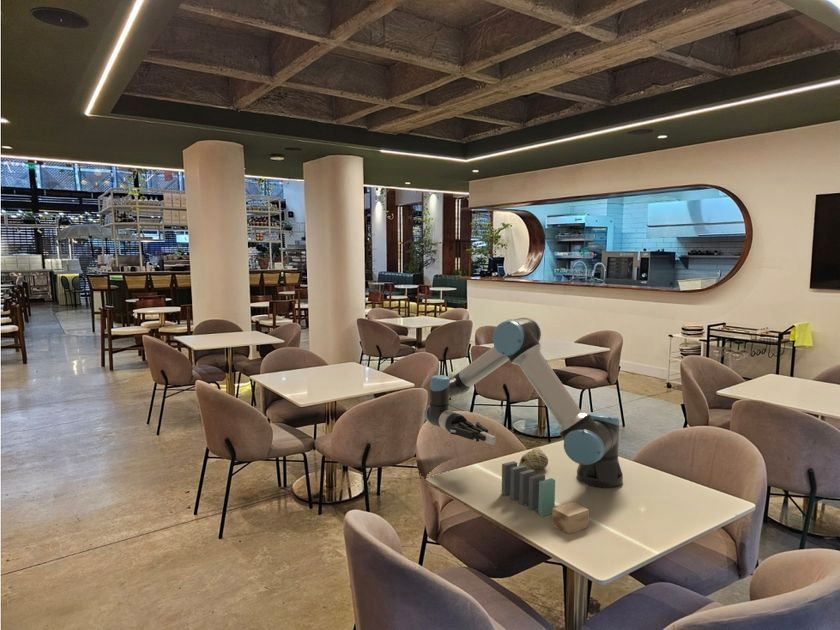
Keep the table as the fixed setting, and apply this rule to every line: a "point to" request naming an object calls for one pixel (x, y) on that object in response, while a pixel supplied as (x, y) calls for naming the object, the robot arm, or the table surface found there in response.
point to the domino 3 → (525, 486)
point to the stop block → (570, 517)
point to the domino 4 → (534, 491)
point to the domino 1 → (507, 476)
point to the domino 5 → (546, 497)
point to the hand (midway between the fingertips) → (493, 440)
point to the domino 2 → (515, 481)
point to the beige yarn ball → (534, 460)
